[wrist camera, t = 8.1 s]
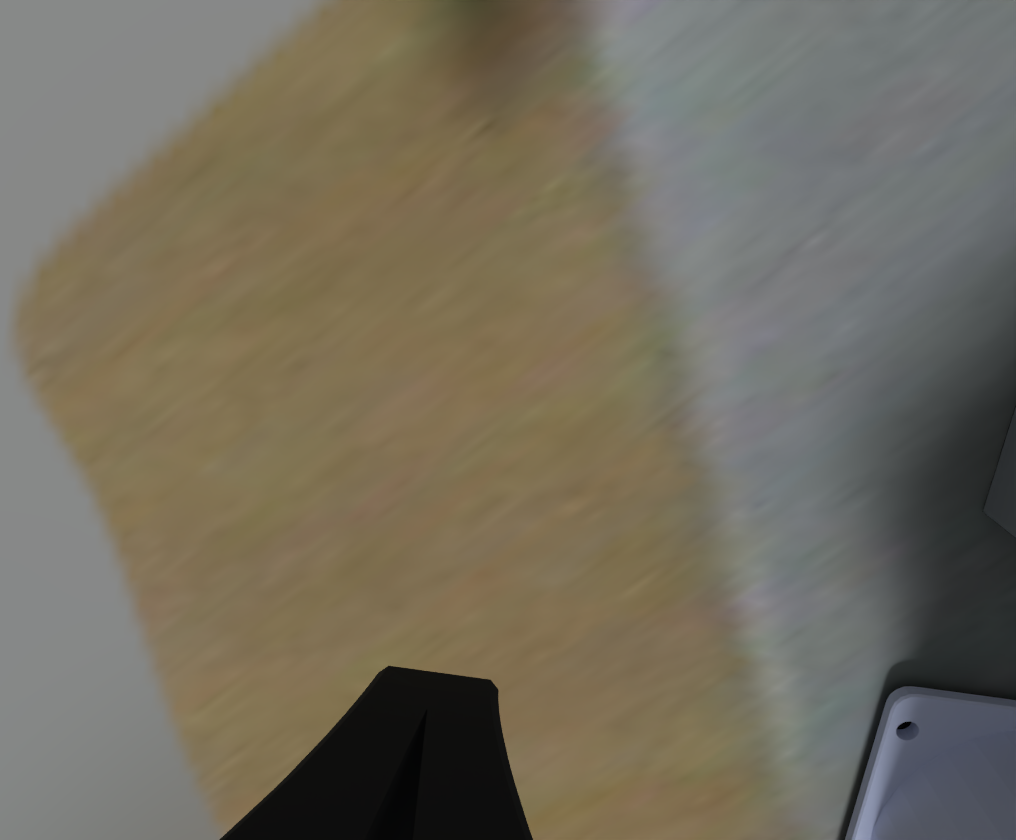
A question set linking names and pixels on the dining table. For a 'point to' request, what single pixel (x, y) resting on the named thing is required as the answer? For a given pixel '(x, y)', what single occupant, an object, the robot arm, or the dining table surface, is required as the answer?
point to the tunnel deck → (1004, 485)
